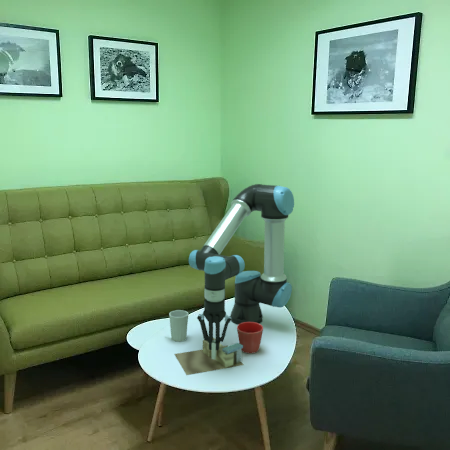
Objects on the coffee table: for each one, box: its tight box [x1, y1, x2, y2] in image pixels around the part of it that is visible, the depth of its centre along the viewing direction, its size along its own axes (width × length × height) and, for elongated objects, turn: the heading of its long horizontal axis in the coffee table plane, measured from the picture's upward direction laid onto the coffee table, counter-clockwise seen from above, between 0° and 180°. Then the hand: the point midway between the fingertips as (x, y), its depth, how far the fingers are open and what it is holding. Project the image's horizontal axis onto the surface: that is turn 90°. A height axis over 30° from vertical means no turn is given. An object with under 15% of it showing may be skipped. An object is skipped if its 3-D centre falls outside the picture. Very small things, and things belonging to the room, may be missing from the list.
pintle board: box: [174, 345, 245, 376], centre depth 180 cm, size 22×17×1 cm
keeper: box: [222, 342, 243, 364], centre depth 176 cm, size 3×8×7 cm, turn 131°
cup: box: [168, 309, 189, 343], centre depth 196 cm, size 8×8×12 cm
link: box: [202, 336, 234, 367], centre depth 181 cm, size 15×5×5 cm, turn 35°
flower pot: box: [236, 322, 264, 354], centre depth 190 cm, size 11×11×10 cm
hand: (214, 357), depth 177 cm, fingers closed
